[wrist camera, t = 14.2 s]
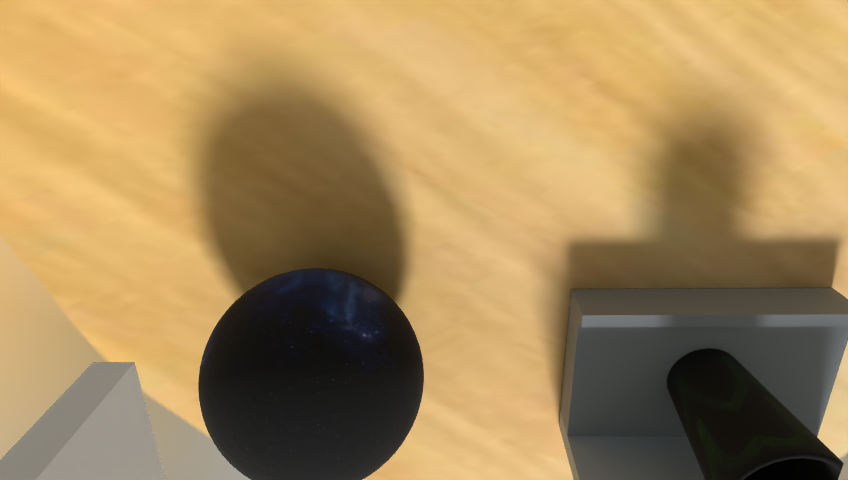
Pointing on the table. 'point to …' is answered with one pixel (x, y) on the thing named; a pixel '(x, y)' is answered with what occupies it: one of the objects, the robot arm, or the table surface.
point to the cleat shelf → (665, 344)
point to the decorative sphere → (311, 378)
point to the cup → (742, 424)
